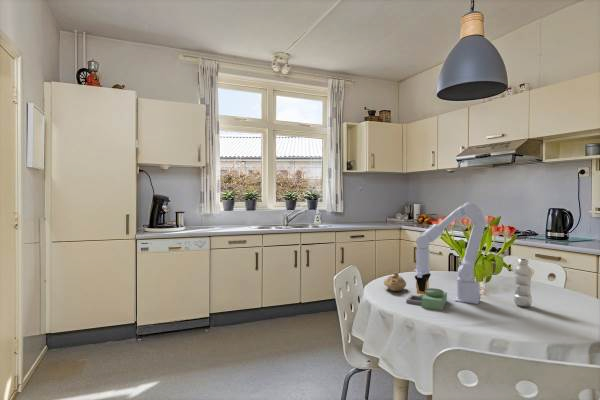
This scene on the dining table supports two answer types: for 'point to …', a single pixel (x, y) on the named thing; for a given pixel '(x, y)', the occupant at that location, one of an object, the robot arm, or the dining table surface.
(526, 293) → the plastic bottle
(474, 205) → the robot arm
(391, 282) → the oil lamp
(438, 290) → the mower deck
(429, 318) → the dining table surface
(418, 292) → the chute block
